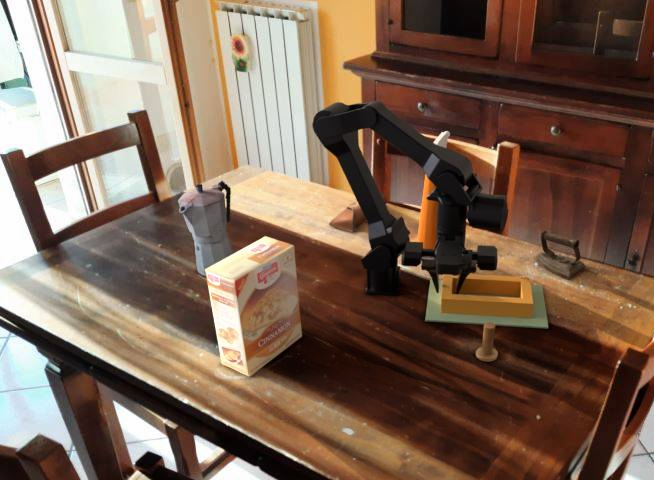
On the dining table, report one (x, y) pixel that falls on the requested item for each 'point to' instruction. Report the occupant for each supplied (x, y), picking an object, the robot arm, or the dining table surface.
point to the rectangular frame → (488, 304)
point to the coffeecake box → (255, 304)
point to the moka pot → (208, 223)
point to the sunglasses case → (351, 217)
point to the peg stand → (487, 344)
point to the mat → (535, 322)
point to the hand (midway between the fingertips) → (447, 292)
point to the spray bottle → (430, 206)
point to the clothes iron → (557, 262)
